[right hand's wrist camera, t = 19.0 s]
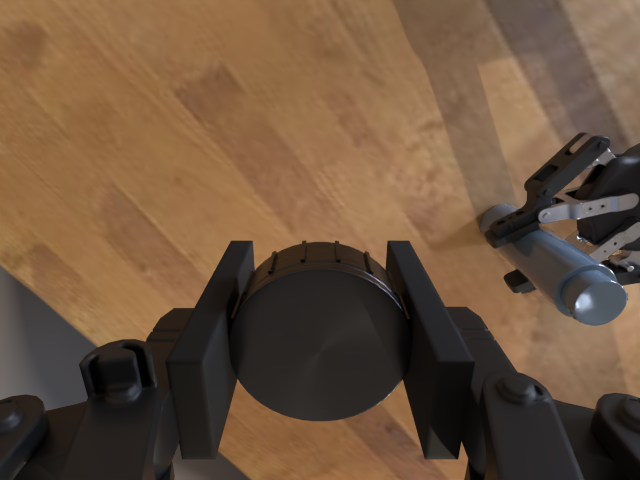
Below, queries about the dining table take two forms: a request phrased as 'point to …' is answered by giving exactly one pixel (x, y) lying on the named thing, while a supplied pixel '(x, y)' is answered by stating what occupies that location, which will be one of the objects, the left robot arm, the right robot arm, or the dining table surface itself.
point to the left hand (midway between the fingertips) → (499, 263)
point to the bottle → (562, 272)
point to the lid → (320, 332)
